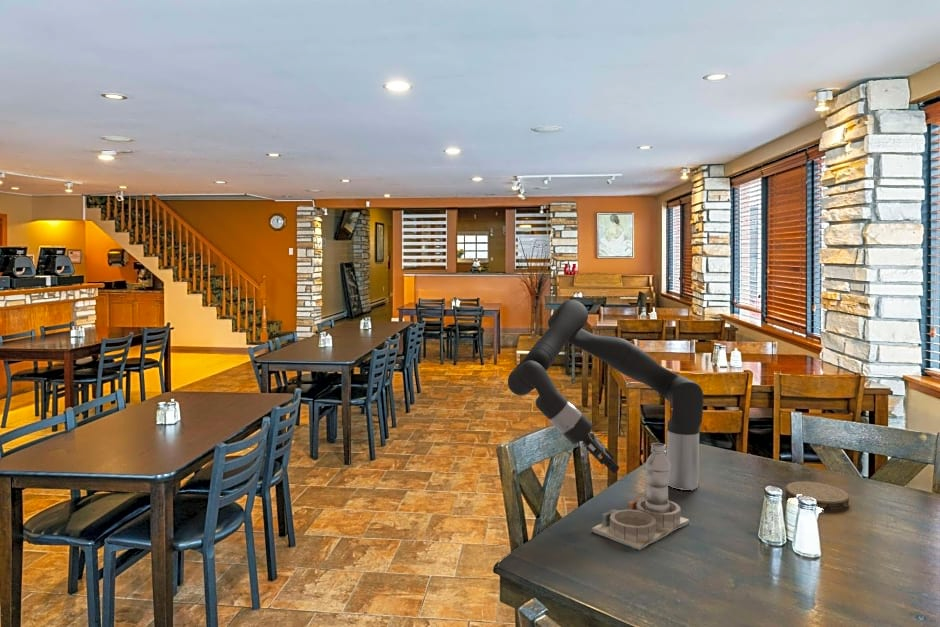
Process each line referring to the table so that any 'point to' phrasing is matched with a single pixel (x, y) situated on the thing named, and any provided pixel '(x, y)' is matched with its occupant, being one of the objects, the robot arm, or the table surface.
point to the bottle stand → (639, 523)
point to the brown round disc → (820, 494)
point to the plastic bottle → (657, 480)
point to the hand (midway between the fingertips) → (614, 465)
